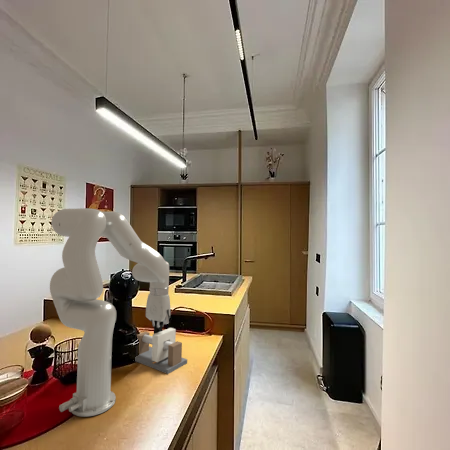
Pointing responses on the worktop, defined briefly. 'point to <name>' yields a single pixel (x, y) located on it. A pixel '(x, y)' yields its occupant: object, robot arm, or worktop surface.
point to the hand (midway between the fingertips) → (157, 336)
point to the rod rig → (166, 364)
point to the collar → (158, 342)
